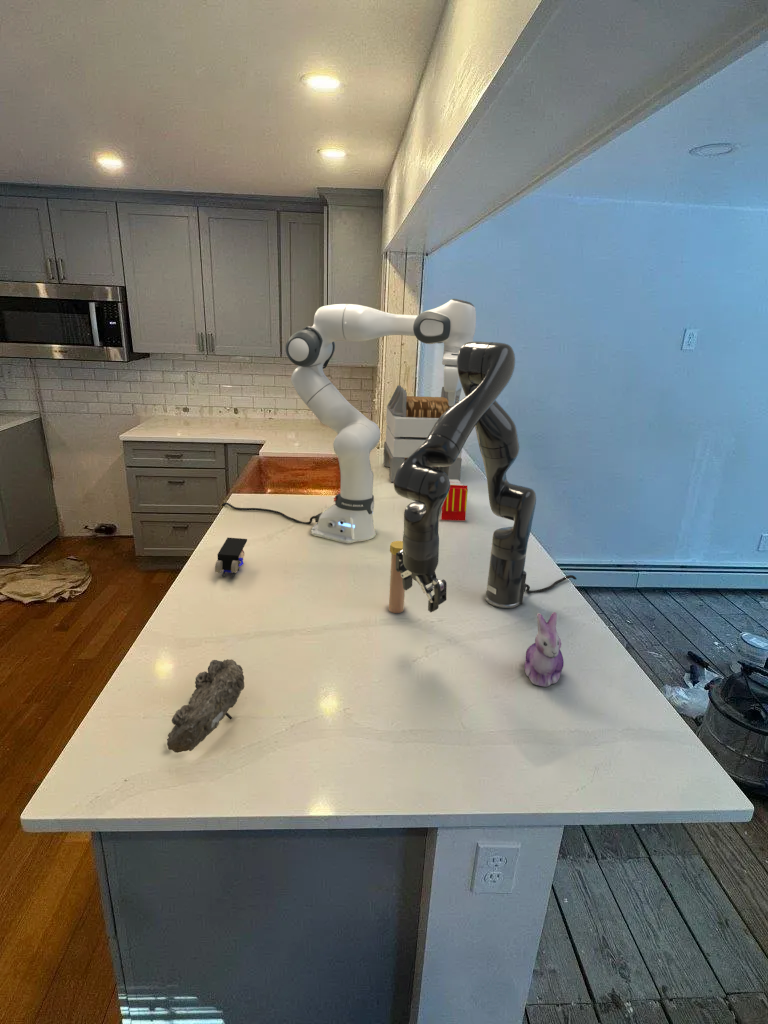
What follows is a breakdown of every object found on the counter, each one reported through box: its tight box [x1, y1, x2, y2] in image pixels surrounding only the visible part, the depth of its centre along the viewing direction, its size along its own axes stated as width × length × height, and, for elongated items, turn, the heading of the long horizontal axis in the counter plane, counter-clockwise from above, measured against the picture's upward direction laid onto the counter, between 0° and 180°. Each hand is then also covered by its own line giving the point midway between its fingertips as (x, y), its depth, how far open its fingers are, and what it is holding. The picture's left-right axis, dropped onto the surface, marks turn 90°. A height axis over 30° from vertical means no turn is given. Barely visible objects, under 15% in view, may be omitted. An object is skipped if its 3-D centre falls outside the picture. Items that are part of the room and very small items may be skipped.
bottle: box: [388, 552, 406, 614], centre depth 147 cm, size 4×4×18 cm
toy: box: [440, 479, 469, 522], centre depth 226 cm, size 12×13×30 cm
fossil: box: [166, 658, 245, 754], centre depth 106 cm, size 22×10×15 cm
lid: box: [389, 540, 403, 555], centre depth 144 cm, size 5×5×2 cm
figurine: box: [524, 611, 565, 688], centre depth 122 cm, size 9×10×15 cm
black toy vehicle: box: [214, 537, 248, 578], centre depth 166 cm, size 7×8×15 cm
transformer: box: [383, 384, 463, 483], centre depth 268 cm, size 34×33×41 cm
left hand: (454, 403), depth 174 cm, fingers open, 8 cm apart
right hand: (419, 598), depth 128 cm, fingers open, 8 cm apart
